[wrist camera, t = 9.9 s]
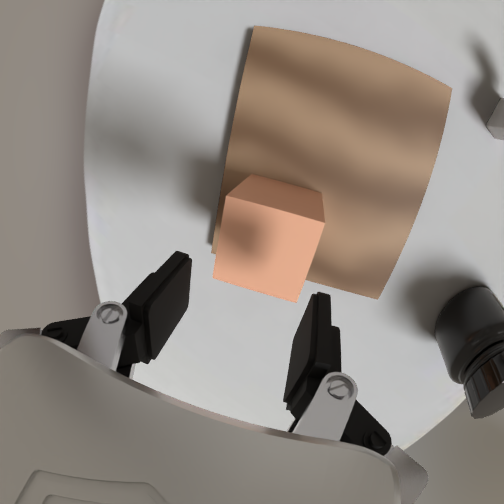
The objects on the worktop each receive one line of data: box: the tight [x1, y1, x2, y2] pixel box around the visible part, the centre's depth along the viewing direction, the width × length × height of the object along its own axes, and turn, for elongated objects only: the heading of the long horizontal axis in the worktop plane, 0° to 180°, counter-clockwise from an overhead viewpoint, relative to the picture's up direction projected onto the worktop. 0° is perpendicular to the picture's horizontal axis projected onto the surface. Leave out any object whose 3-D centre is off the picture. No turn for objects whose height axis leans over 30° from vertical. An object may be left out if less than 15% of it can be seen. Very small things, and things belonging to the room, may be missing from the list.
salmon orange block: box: [213, 174, 325, 303], centre depth 19 cm, size 6×6×7 cm
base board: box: [211, 26, 452, 299], centre depth 19 cm, size 20×16×1 cm
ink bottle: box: [435, 287, 504, 419], centre depth 18 cm, size 10×9×12 cm
